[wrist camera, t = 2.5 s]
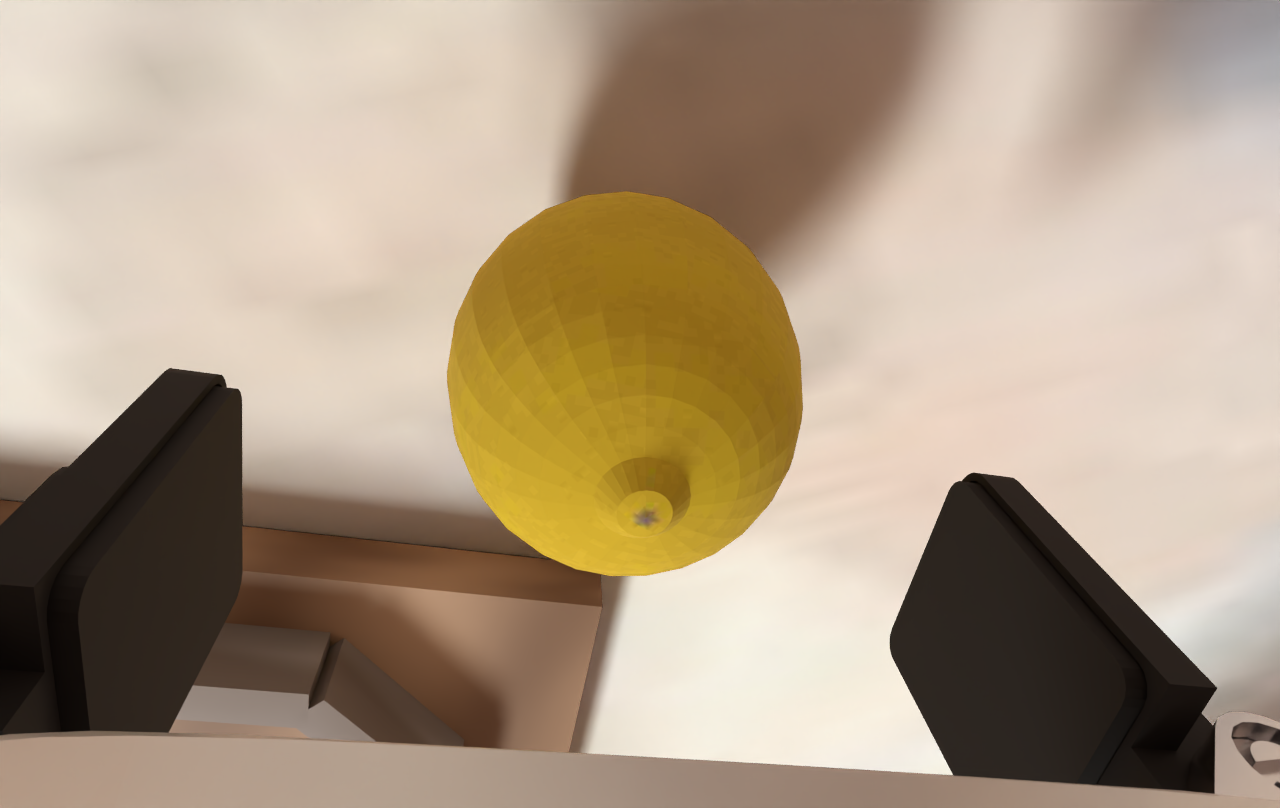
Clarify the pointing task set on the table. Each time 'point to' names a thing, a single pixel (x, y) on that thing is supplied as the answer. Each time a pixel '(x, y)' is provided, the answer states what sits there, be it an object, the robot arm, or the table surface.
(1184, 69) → the table surface
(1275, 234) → the table surface
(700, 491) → the lemon
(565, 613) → the holder
